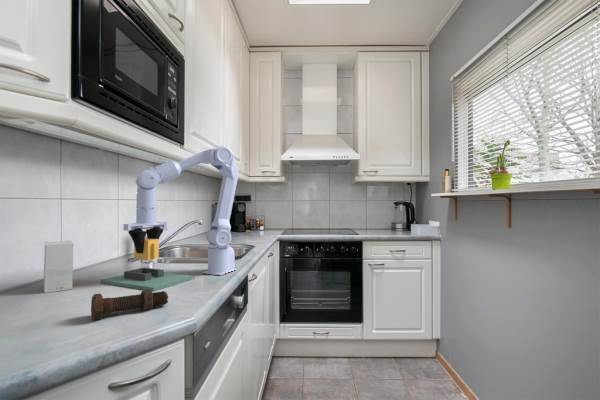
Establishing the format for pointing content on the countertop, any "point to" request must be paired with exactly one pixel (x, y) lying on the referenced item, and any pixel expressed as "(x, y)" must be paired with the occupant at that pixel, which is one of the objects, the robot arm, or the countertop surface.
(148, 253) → the yellow arched block
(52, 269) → the small box
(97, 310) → the bolt
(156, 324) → the countertop surface
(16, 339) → the countertop surface
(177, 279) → the board
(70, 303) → the countertop surface
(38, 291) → the countertop surface
